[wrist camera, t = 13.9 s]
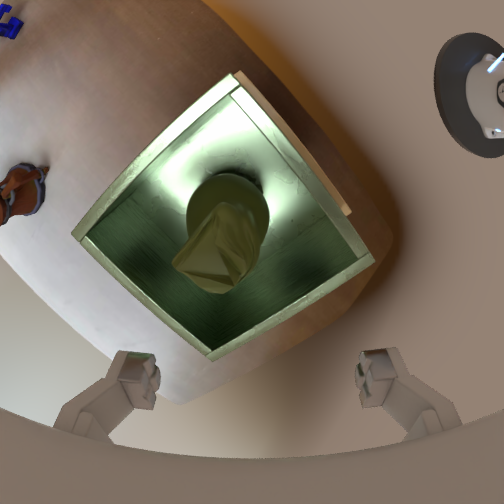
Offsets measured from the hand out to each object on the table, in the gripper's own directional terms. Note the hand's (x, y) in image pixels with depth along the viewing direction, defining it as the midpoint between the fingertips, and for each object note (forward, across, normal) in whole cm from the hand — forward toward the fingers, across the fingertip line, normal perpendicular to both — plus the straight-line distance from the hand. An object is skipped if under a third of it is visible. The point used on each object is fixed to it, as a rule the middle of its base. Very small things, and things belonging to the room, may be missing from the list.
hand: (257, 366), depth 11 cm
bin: (+43, +2, -2) cm, 43 cm away
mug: (+43, +45, 0) cm, 62 cm away
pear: (+14, +2, -2) cm, 14 cm away
